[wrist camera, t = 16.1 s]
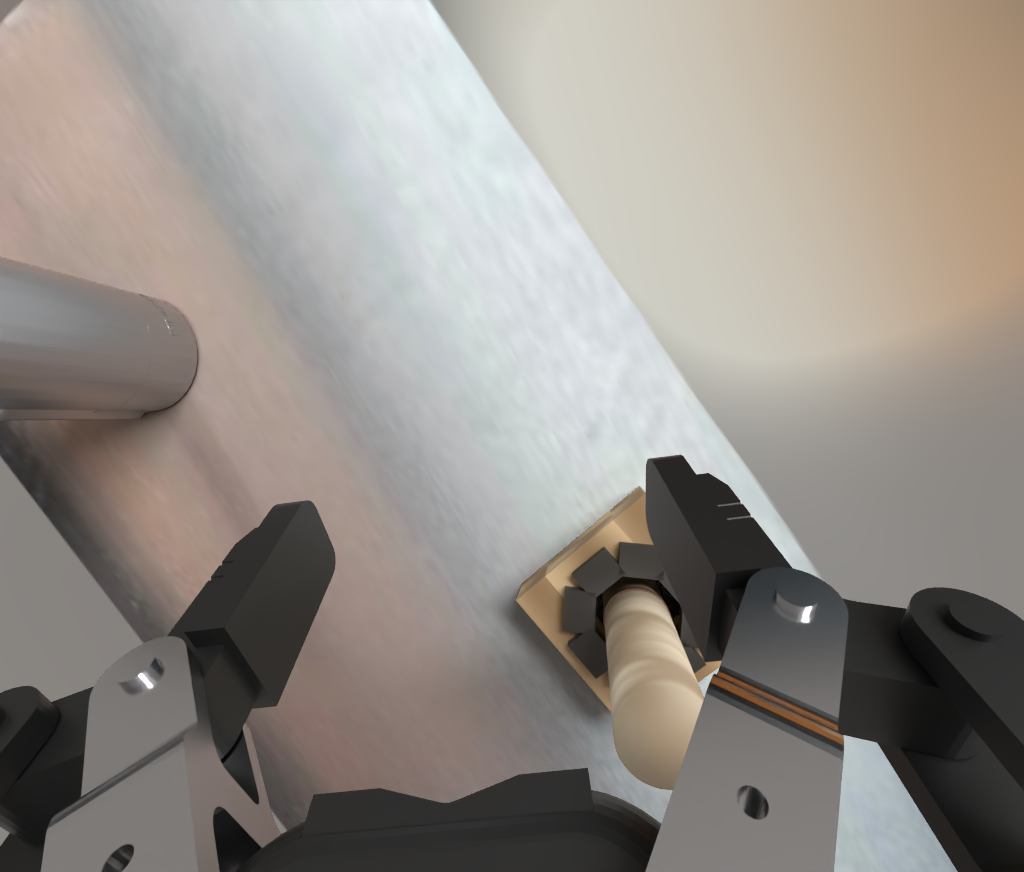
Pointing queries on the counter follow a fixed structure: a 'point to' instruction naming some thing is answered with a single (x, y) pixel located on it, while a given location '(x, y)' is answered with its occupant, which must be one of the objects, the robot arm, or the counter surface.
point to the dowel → (648, 682)
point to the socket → (599, 591)
